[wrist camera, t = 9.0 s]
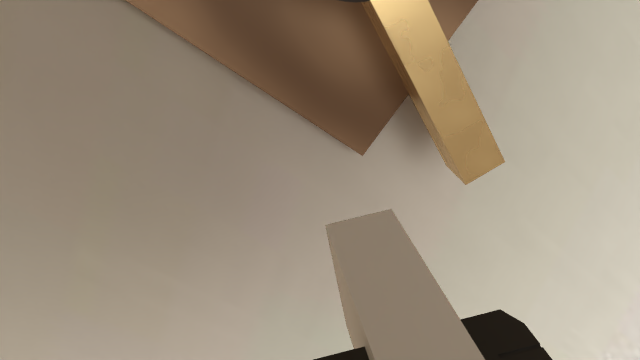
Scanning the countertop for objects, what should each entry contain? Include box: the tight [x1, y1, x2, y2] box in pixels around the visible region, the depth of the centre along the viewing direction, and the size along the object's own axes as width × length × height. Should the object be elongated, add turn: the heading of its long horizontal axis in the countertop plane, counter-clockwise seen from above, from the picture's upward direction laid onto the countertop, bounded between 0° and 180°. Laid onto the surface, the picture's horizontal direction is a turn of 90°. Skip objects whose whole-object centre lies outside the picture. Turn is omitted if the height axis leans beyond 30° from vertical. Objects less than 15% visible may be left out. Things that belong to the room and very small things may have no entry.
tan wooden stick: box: [339, 0, 505, 185], centre depth 26 cm, size 15×6×4 cm, turn 30°
